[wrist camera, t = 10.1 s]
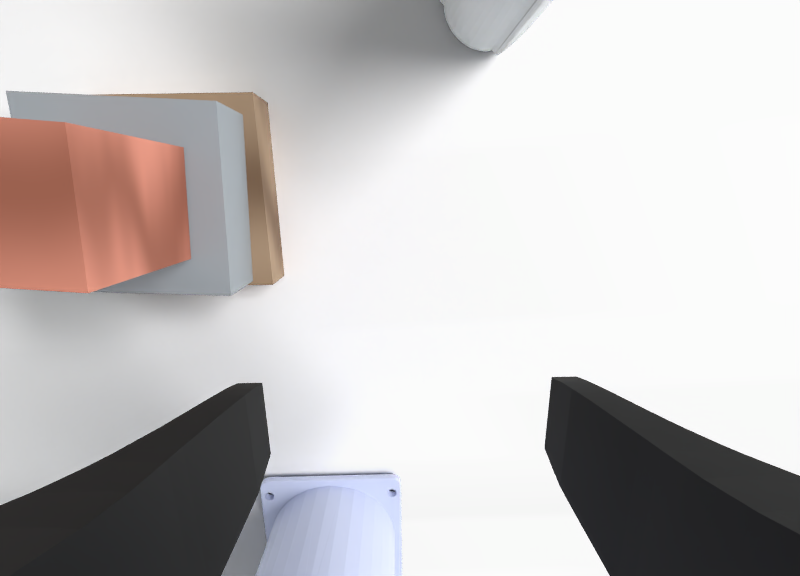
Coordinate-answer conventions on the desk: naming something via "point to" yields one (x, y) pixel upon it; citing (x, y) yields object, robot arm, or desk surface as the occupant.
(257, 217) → the walnut slab
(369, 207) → the desk surface
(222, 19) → the desk surface
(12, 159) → the red block
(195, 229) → the grey slab
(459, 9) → the photo printer
